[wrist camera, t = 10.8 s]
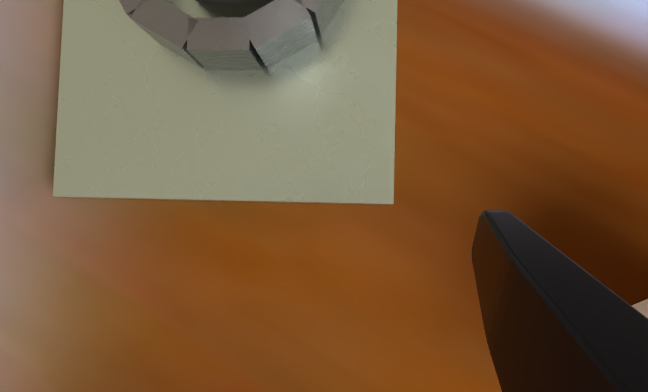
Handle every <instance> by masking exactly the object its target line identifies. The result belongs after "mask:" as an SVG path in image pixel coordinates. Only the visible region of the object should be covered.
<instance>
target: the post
mask: <svg viewBox="0 0 648 392" xmlns="http://www.w3.org/2000/svg"><path fill="white" fill-rule="evenodd" d="M196 1H197V2H198V3H199V4H200V5H201V6H202V7H204V8H205V9H207V10H208V11H210V12H212V13H214V14H217V15H220V16H223V17H246V16H248V15H249V14H251V13H253V12H255V11H256V10H258V9H260V8H262V7H263V6H265V5H267V4H269V3H270V2H272V1H274V0H196Z"/></svg>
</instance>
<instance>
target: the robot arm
mask: <svg viewBox="0 0 648 392" xmlns="http://www.w3.org/2000/svg"><path fill="white" fill-rule="evenodd" d="M472 262H473V268H474V273H475V279H476V284H477V290H478V296H479V301H480V307H481V312H482V318H483V323H484V329H485V334H486V339H487V343H488V347H489V350H490V354H491V357H492V360H493V364H494V367H495V370H496V373H497V377H498V380H499V383H500V386H501V390H502V392H648V318H647V317H645V316H644V315H643V314H641V313H640V312H639V311H638V310H636V309H635V308H634V307H632V306H631V305H630V304H629V303H627V302H626V301H625V300H623V299H622V298H621V297H619V296H618V295H617V294H616V293H614V292H613V291H612V290H610V289H609V288H608V287H606V286H605V285H604V284H603V283H601V282H600V281H599V280H597V279H596V278H595V277H594V276H592V275H591V274H590V273H588V272H587V271H586V270H584V269H583V268H582V267H581V266H579V265H578V264H577V263H575V262H574V261H573V260H572V259H570V258H569V257H568V256H566V255H565V254H564V253H562V252H561V251H560V250H559V249H557V248H556V247H555V246H553V245H552V244H551V243H549V242H548V241H547V240H546V239H544V238H543V237H542V236H540V235H539V234H538V233H537V232H535V231H534V230H533V229H531V228H530V227H529V226H527V225H526V224H525V223H524V222H522V221H521V220H520V219H518V218H517V217H516V216H515V215H513V214H512V213H510V212H509V211H507V210H485V211H483V212H482V213H481V215H480V217H479V220H478V225H477V229H476V233H475V238H474V242H473V247H472Z"/></svg>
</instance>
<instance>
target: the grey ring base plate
mask: <svg viewBox="0 0 648 392" xmlns="http://www.w3.org/2000/svg"><path fill="white" fill-rule="evenodd" d="M396 44H397V0H274V1H272V2H270V3H269V4H267V5H265V6H263V7H262V8H260V9H258V10H256V11H255V12H253V13H251V14H249V15H248V16H246V17H223V16H220V15H217V14H214V13H212V12H210V11H208V10H207V9H205V8H204V7H202V6H201V5H200V4H199V3H198V2H197V1H196V0H64V3H63V21H62V39H61V57H60V75H59V93H58V111H57V129H56V147H55V165H54V183H53V196H55V197H65V198H104V199H148V200H193V201H237V202H281V203H325V204H370V205H393V202H394V149H395V97H396Z"/></svg>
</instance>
